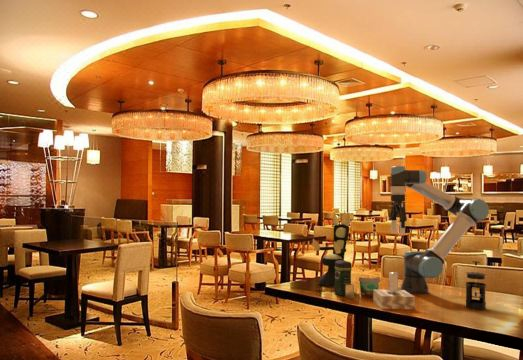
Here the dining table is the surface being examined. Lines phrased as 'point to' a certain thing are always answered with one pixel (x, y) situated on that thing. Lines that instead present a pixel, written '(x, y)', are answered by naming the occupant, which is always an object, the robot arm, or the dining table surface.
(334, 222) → the dark tall irregular piece
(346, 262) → the coffee jar
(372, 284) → the food container
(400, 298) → the tissue box
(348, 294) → the brass pin
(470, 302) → the french press
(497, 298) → the dining table surface
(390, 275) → the steel pin
